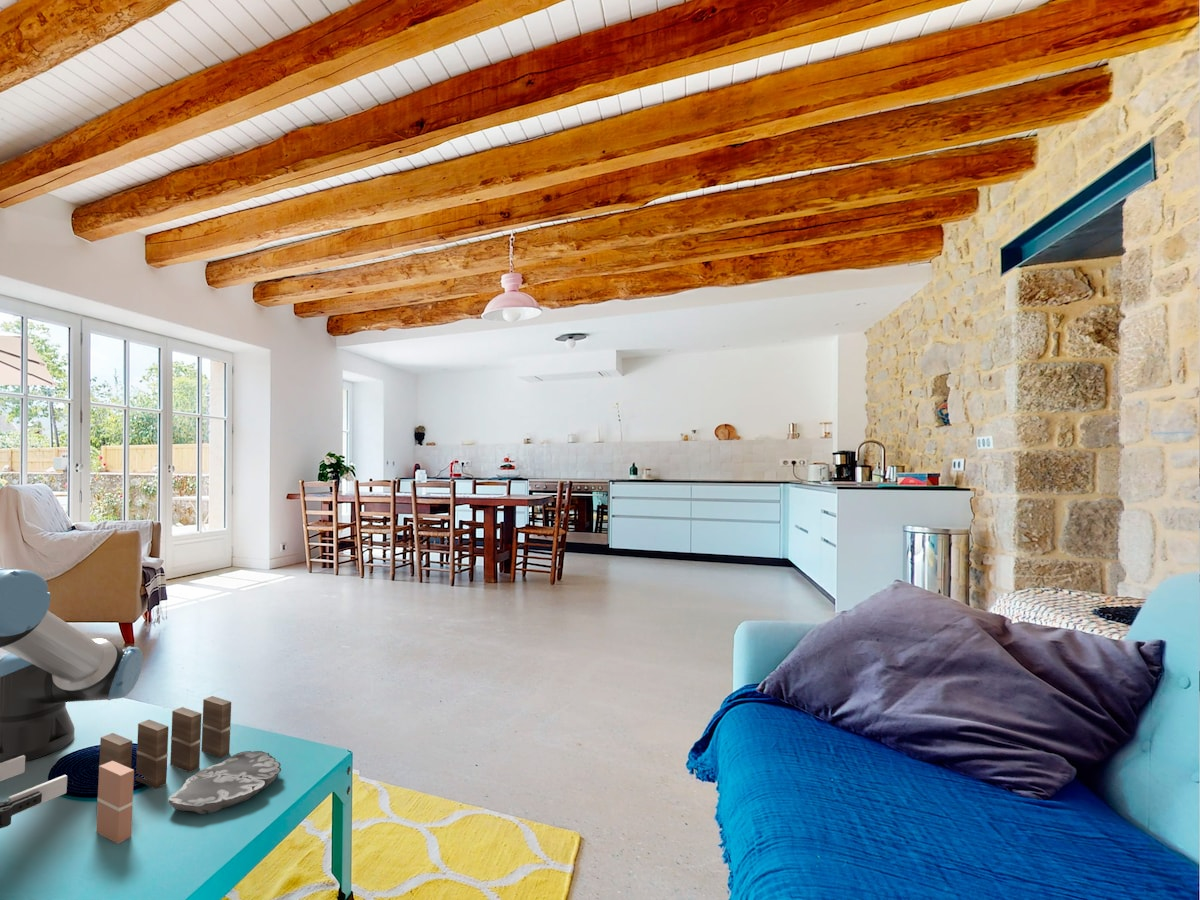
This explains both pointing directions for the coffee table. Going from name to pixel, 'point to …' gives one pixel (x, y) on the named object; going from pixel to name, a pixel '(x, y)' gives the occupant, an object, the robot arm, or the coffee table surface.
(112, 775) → the domino
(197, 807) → the brain slice
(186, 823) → the coffee table surface
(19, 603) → the robot arm
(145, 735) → the domino
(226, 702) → the domino
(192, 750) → the domino
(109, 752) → the domino
